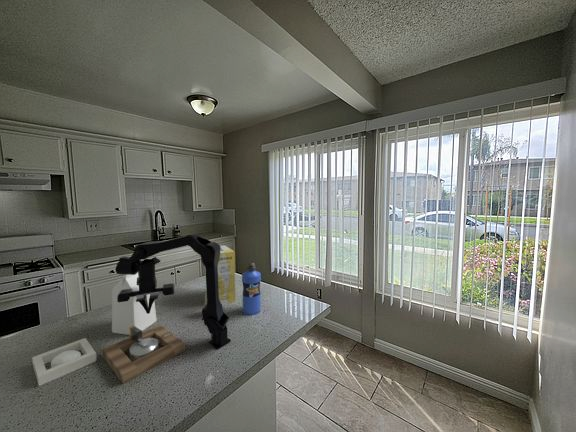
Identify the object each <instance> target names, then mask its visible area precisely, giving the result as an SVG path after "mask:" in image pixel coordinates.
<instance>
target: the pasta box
mask: <svg viewBox="0 0 576 432" xmlns="http://www.w3.org/2000/svg"><path fill="white" fill-rule="evenodd" d="M220 248H221V251H220V258H219V261H218V266H217V267H218V288H219V290H220V302H221V304H222V305H225V304H226V305H227V304H230V303H234V302H235V303H236V264H235V263H236V257H235V256H236V253H235V250H233V249H231V248H230V247H228V246H226V245H220Z"/></svg>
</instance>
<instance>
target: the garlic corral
mask: <svg viewBox="0 0 576 432" xmlns="http://www.w3.org/2000/svg"><path fill="white" fill-rule="evenodd" d="M69 350H75V351H79V352H80V353H81V356H80V357H77V358H75V359H72V360H70V361H68V362H65V363H63V364H60V365H58V366H55V367H53V368H52V367H50V368H49V369H47V368H46V364H48V363H51V361H52V360H53V358H55V357H56V356H57V355H59V354H60V353H62V352H65V351H69ZM31 360H32V368H33V371H34V374H35V378H36V381H37V386H38V387H40V386H42V385H45V384H48V383H49V382H51V381H52V382H53V381H54V380H56V379H59V378H61V377H63V376H66V375H68V374H70V373H72V372H74V371H76V370H79V369H81V368H84V367H86V366H89V365H91V364H92V363H95V362H97V352H96V350H95V349H94V348H93V346H92V345H91V344H90V342H89V341H88V340H87V338H86V337H84V338H81V339H78V340H76V341H73V342H71V343H68V344H65V345H63V346H60V347H57V348H55V349H51V350H48V351H46V352H44V353H40V354H38V355H34V356H33V357H31Z"/></svg>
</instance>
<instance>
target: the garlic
mask: <svg viewBox="0 0 576 432" xmlns="http://www.w3.org/2000/svg"><path fill="white" fill-rule="evenodd" d="M80 356H82V352H81V351H80V350H79V351H75V350H69V351H65V352H62V353H60V354H59V355H57V356H56V357H55V358H53V360H52V361H51V362H50V368H53V367H55V366H58V365H60V364H63V363H65V362H68V361H70V360H72V359H75V358H77V357H80Z"/></svg>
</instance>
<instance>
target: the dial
mask: <svg viewBox="0 0 576 432" xmlns="http://www.w3.org/2000/svg"><path fill="white" fill-rule="evenodd" d="M129 329H130V335H129V338H131V339H133V340H135V341H136V343H134V344H133V345H132V346H131V347H130V351H129V359H130V360H131V361H132V362H133V361H135V360H137V359H139V358H141V357H143V356H145V355H147V354H150V353H152V352H154V351H156V350H158V349H160V346H159V345H160V344H159V343H158V340H157V339H156V338H146V339H142V332H143V331H142V330H140V329H138V328H137V327H135V326H131V327H129Z"/></svg>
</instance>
